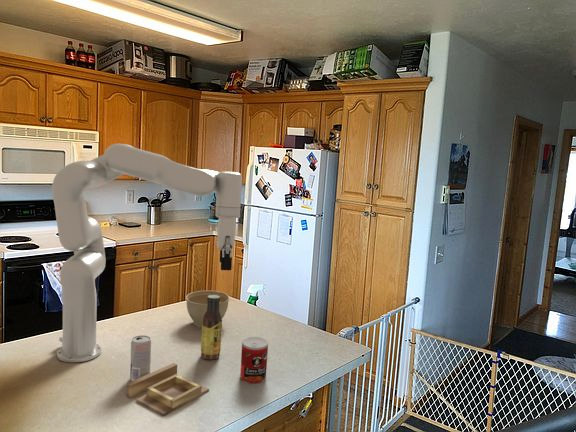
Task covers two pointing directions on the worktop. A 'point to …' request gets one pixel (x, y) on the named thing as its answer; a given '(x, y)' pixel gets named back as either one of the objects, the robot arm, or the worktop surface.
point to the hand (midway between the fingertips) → (225, 266)
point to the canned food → (254, 359)
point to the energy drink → (140, 357)
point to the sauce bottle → (211, 329)
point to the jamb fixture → (165, 390)
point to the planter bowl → (204, 305)
